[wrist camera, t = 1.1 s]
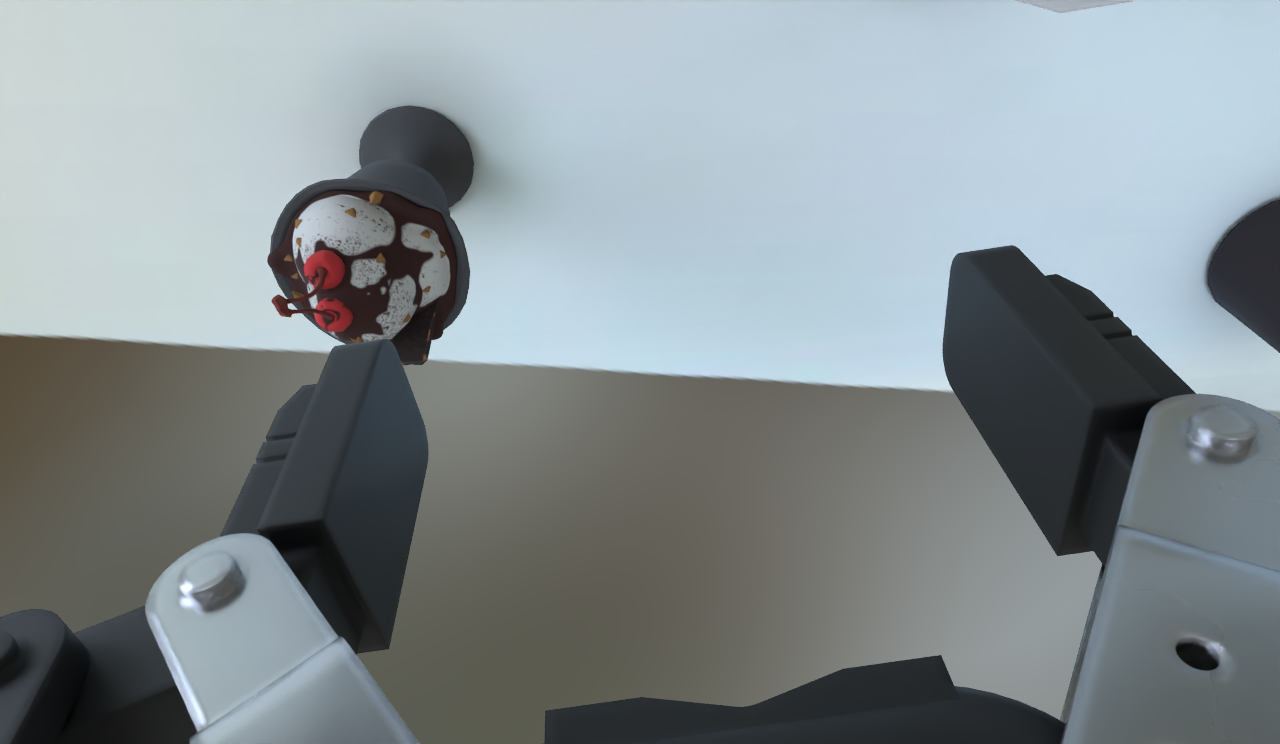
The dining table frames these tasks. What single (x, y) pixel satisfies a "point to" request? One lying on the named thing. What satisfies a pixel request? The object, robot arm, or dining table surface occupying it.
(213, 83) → the dining table surface
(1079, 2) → the plastic cup
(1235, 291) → the bottle
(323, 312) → the sundae
